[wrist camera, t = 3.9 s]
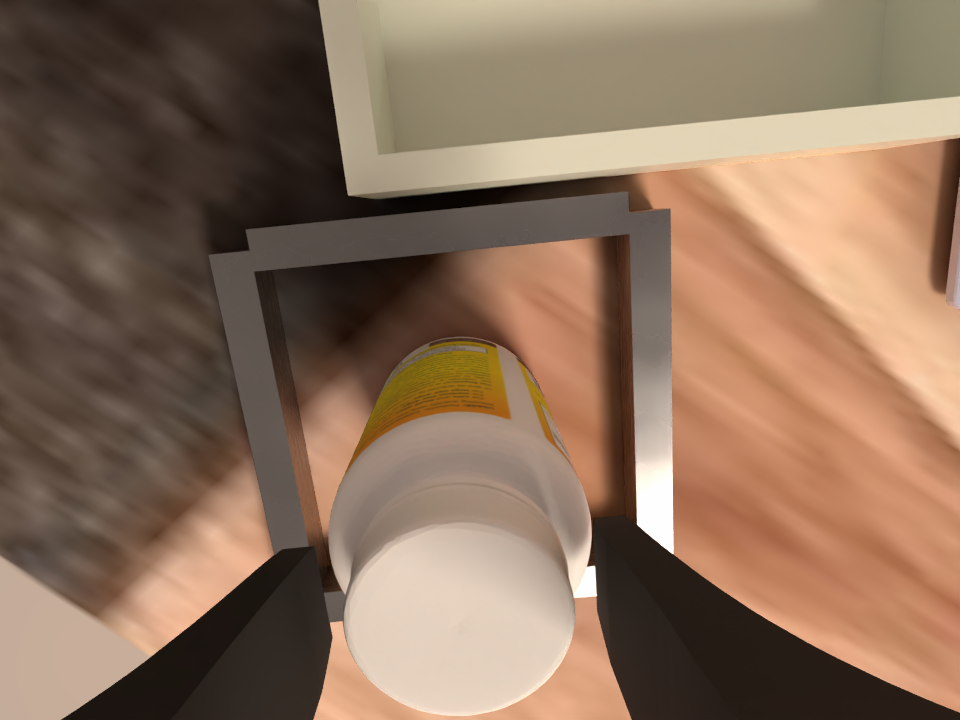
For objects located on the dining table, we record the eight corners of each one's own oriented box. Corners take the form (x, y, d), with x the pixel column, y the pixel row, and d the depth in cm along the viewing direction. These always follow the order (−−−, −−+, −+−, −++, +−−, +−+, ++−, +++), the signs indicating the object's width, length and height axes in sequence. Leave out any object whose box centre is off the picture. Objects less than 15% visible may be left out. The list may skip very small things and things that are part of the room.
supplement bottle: (348, 426, 19) (226, 655, 9) (444, 298, 18) (420, 404, 8) (478, 513, 20) (489, 802, 10) (576, 396, 19) (694, 594, 9)
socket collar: (653, 188, 17) (670, 186, 16) (659, 562, 21) (673, 587, 19) (225, 232, 17) (203, 233, 16) (302, 597, 21) (290, 626, 19)
